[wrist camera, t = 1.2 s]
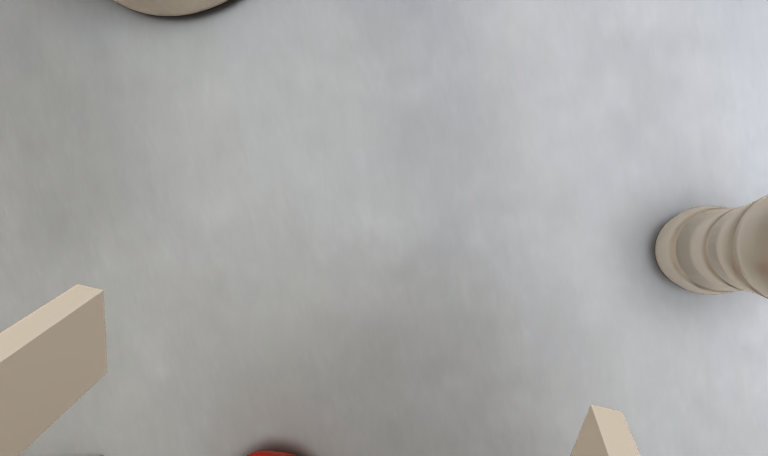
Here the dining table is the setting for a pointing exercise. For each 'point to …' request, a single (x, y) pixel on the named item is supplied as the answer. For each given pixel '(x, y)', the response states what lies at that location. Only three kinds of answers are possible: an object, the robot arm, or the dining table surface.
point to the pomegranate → (270, 453)
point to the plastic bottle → (717, 249)
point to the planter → (170, 6)
